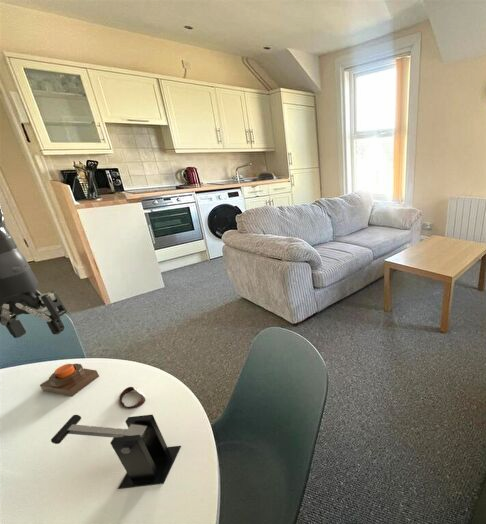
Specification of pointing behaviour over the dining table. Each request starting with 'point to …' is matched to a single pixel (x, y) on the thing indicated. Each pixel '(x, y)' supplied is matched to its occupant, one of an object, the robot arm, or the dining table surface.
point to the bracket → (144, 454)
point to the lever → (97, 430)
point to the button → (64, 371)
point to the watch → (130, 391)
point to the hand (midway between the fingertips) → (39, 334)
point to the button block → (70, 381)
